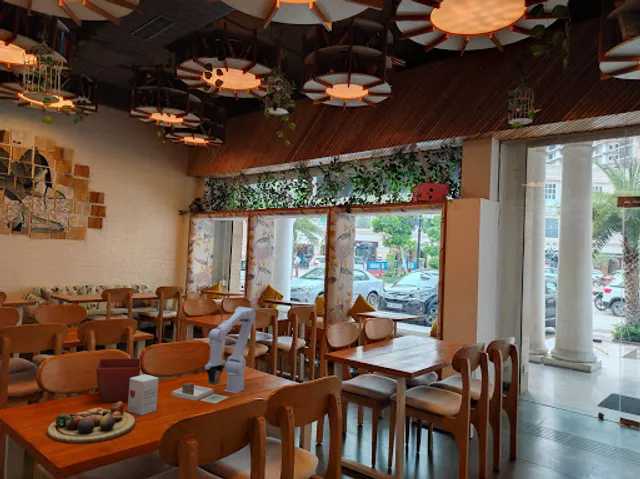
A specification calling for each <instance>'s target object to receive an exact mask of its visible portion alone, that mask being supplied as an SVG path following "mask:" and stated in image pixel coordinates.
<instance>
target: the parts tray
mask: <svg viewBox="0 0 640 479" xmlns="http://www.w3.org/2000/svg"><path fill="white" fill-rule="evenodd" d="M182 388H183V387H180V388H178V389H175V390H172V391H171V396H172V397H174V398H175V397H176V398H181V399H187V400H191V401H198V400H201V399H203V398H206V397H208V396H210V395H212V394H214V388H212V387H211V388H210V387H206V386H199V385H195V384H194V395H189V394H184V393H182Z"/></svg>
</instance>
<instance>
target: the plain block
mask: <svg viewBox="0 0 640 479" xmlns="http://www.w3.org/2000/svg"><path fill="white" fill-rule="evenodd" d="M194 385H195V383H193V382H185V383H183V384H182V387H181V388H182V393H184V394H189V395H194Z"/></svg>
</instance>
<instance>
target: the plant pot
mask: <svg viewBox="0 0 640 479" xmlns="http://www.w3.org/2000/svg"><path fill="white" fill-rule="evenodd" d="M141 361H142V359H141V358H99V360H98V364H96V365H97V366H96V381H97V388H98V393H99V398H100V401H101V403H117V402H119V401H121V402H128V398H129V384H130V378H132V377H136V376H140V372H141V368H142V367H141V366H142V365H141V364H142V362H141Z"/></svg>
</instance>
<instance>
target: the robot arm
mask: <svg viewBox="0 0 640 479" xmlns="http://www.w3.org/2000/svg"><path fill="white" fill-rule="evenodd" d="M256 313H257V312H256V310H255V308H254V307H245V306H240V305H239V306H237V307H236V308H234V312H233V314H232V316H230V317H229V319H227V320H226V319H225V320H223V321H222V322H221V323H220V324H219V325H218V326H217V327H216V328H213V329H211V330H210V331H209V332H208V333H209V334H208V339H209V344H210V349H209V350H210V352H209V360H208V361H207V364H205V365H204V370H205V371H206V373H207V375H208V377H209V382H212V383H213V382H214V379H215V374H216V371H217V370H218V371H220V376H221V375H222V372H223V370H225V372H226V375H227V377H226V378H227V380H226V388H225V389H223V391H225V392H230V393H233V394H236V393H239V392H241V391H243V390H245V389H246V388H245V374H244V373H245V371H246V363H247V361H246V358H244V354H245V350H246V348H247V344H248V339H249V336H250V333H251V330H252V326H253V325H254V322H255V319H256V316H257V314H256ZM237 322H238V323H240V325H241V327H240V330H239V334H238V336H237V340H236V344H235V346H234V349H233V353H232V354H231V355H229V356H228V357H227V360H226V359H222V355H223V342H224V341H225V339H226V337H227V335H228V333H229V332H231V330H232V329H233V326H234V325H235V324H236V323H237ZM208 377H207V378H208Z"/></svg>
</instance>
